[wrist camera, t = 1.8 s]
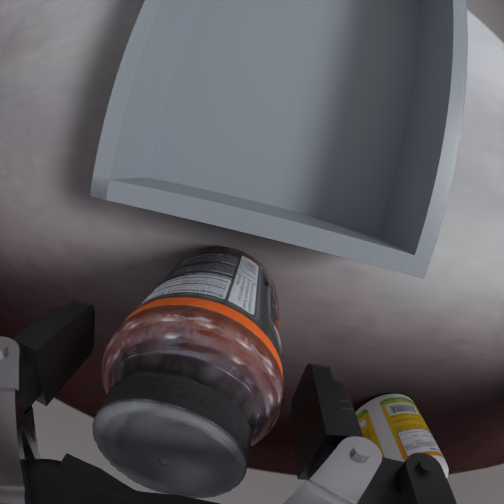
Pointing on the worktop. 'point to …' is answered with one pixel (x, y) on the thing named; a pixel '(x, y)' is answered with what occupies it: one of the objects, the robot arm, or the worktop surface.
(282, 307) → the worktop surface
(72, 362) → the robot arm
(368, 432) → the supplement bottle
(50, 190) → the worktop surface
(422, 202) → the tote
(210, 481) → the supplement bottle
